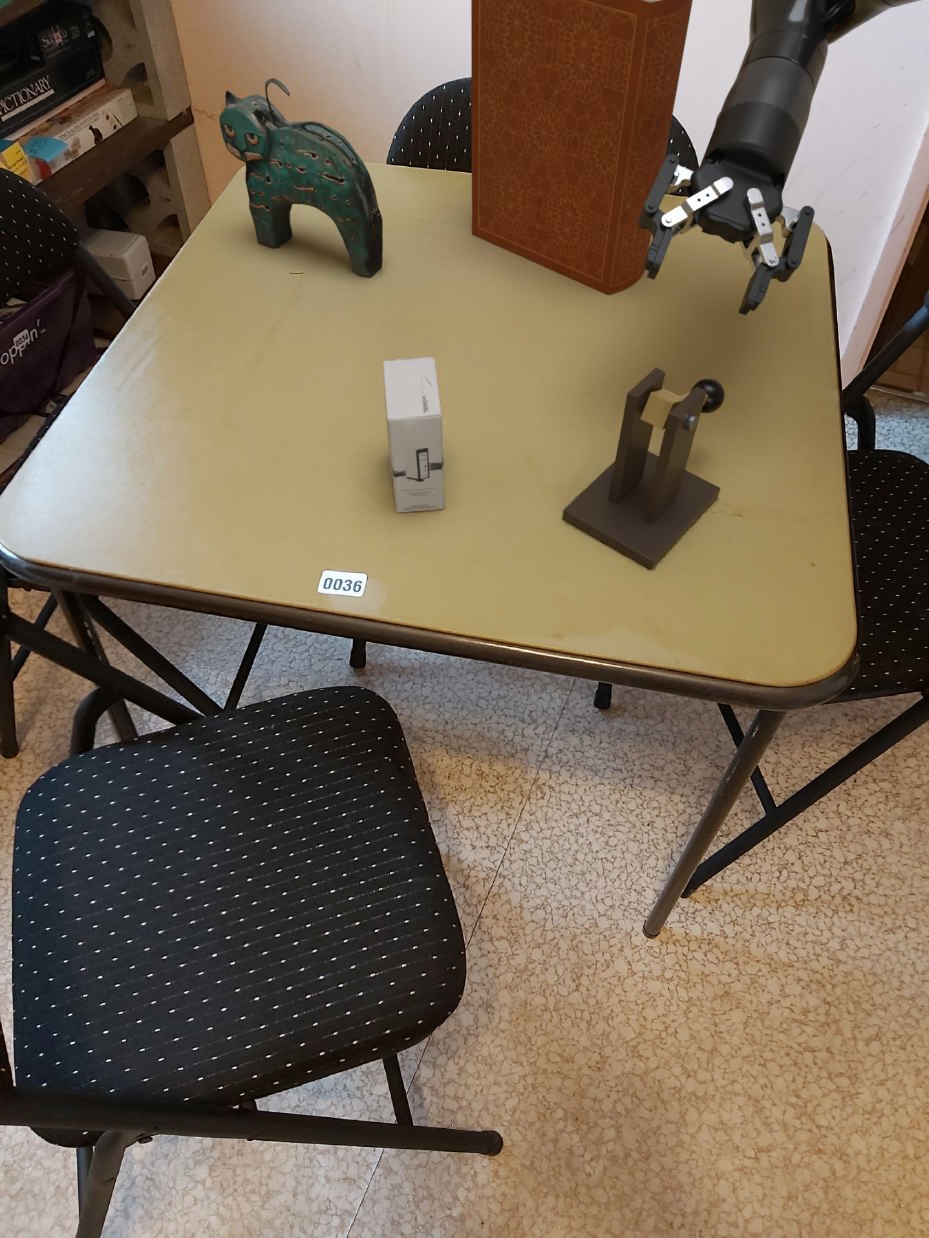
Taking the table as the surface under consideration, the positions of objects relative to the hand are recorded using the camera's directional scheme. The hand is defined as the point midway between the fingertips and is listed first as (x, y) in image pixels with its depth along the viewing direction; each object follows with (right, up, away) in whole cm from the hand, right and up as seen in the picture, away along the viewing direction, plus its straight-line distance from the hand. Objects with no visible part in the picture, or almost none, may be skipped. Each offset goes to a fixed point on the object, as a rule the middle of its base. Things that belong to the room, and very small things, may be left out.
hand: (699, 292), depth 72 cm
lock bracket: (-3, -17, +9) cm, 20 cm away
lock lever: (-1, -10, +4) cm, 11 cm away
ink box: (-25, -15, +11) cm, 31 cm away
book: (-8, +19, +36) cm, 42 cm away
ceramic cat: (-39, +19, +37) cm, 57 cm away
